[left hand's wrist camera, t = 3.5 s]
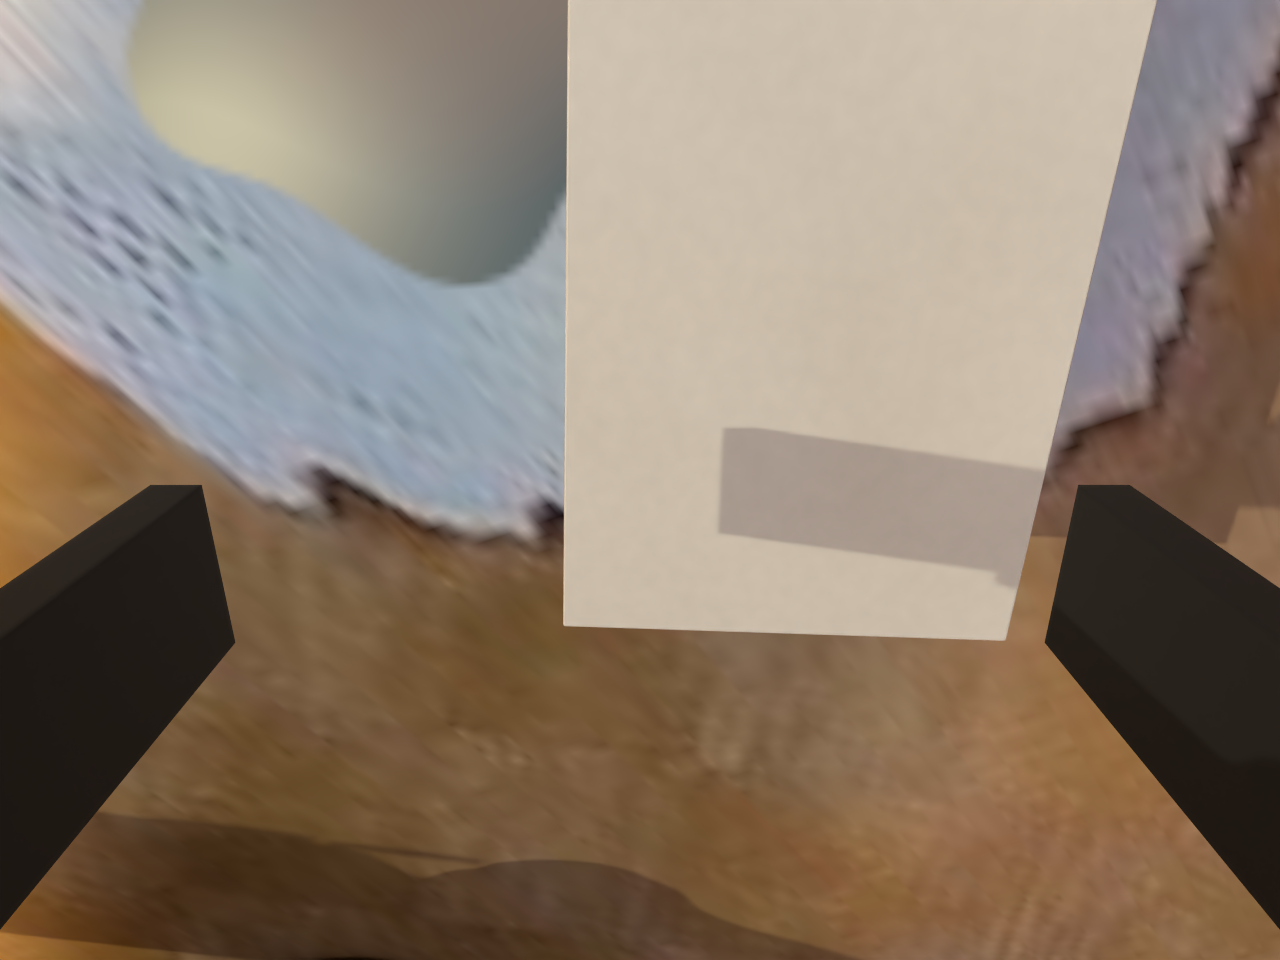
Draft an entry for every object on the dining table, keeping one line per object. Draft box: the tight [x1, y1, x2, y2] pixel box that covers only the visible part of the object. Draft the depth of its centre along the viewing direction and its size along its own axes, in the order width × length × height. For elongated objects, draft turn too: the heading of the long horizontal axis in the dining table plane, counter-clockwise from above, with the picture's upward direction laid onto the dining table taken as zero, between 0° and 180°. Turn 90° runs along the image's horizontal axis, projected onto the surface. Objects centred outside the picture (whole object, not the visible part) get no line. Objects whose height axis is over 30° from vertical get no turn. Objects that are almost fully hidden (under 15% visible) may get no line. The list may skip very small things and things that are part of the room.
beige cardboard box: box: [563, 0, 1157, 641], centre depth 22 cm, size 19×11×10 cm, turn 178°
